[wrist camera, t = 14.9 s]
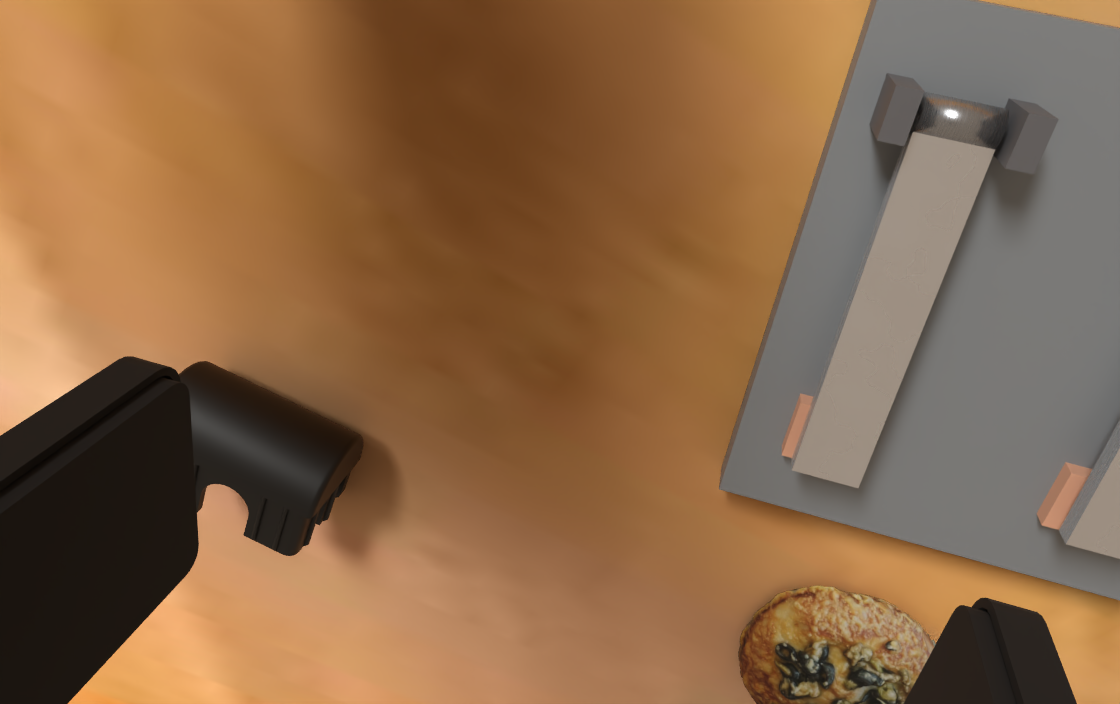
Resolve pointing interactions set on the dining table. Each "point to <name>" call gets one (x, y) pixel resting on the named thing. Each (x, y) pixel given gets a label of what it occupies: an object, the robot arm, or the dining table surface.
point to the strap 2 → (1098, 505)
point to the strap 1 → (897, 283)
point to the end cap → (267, 455)
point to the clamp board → (965, 296)
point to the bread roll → (831, 649)
